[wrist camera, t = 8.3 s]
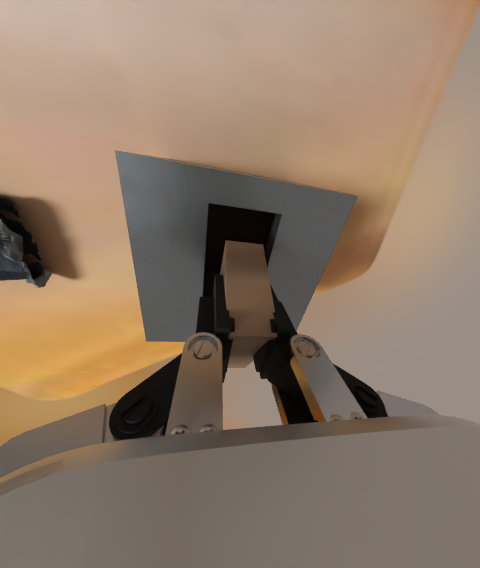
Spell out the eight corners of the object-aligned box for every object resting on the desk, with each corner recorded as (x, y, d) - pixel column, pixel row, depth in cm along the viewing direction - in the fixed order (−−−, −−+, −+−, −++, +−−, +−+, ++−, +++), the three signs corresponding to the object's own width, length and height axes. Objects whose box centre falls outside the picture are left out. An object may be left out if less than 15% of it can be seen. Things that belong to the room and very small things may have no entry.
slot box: (166, 158, 16) (115, 150, 8) (292, 182, 18) (358, 196, 10) (171, 275, 22) (146, 341, 14) (264, 282, 25) (290, 342, 16)
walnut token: (225, 240, 9) (227, 336, 6) (262, 244, 10) (279, 336, 7) (215, 298, 14) (214, 368, 11) (240, 299, 15) (245, 367, 12)
